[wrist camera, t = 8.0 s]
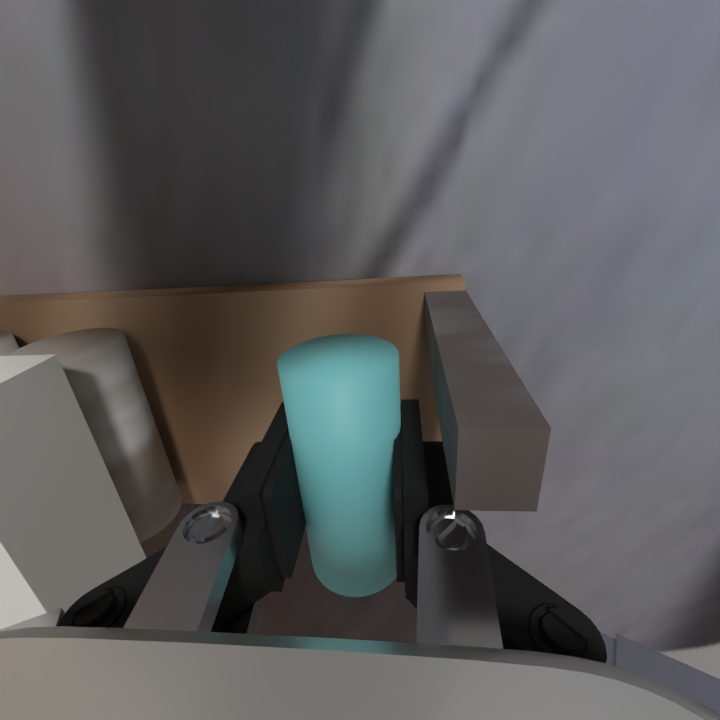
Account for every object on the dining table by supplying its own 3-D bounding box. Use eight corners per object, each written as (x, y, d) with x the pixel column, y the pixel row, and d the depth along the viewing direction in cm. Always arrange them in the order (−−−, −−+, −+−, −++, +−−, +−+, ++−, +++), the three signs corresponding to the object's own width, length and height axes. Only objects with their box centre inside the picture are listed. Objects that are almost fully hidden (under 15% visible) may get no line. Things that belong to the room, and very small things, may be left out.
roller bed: (460, 274, 12) (553, 412, 5) (451, 489, 16) (496, 744, 9) (-39, 298, 14) (-494, 422, 7) (59, 485, 18) (-169, 692, 11)
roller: (291, 336, 11) (262, 387, 8) (397, 331, 11) (401, 382, 8) (319, 515, 14) (304, 596, 11) (402, 514, 14) (407, 597, 11)
